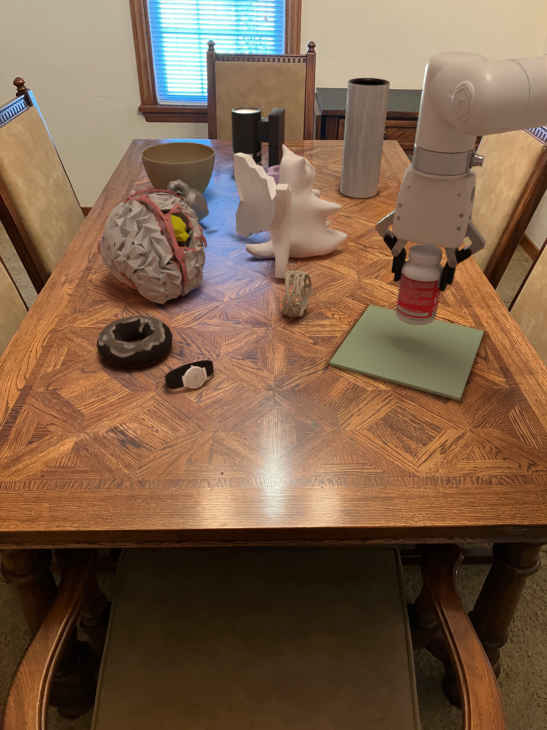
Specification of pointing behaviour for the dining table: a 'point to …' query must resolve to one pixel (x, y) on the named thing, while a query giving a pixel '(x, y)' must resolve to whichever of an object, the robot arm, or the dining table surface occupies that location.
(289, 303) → the bracelet
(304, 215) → the white spiky figurine
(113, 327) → the donut
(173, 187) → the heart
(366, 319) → the mat
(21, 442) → the dining table surface
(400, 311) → the pill bottle
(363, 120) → the planter
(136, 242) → the decorative sculpture
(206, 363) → the watch
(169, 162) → the flower pot
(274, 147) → the light fixture
